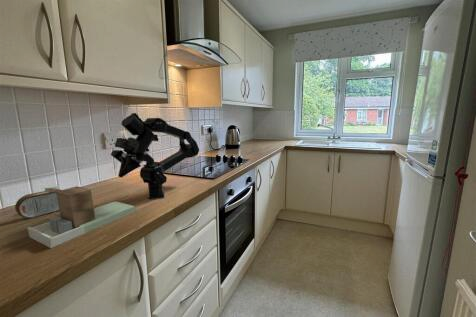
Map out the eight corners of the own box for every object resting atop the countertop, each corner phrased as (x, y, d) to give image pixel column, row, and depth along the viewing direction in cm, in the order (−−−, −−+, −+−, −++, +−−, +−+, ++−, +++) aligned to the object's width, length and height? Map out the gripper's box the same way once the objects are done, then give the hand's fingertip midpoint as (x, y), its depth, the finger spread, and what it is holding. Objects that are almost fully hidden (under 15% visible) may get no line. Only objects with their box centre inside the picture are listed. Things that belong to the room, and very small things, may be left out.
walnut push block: (81, 214, 79) (77, 186, 77) (95, 219, 75) (90, 189, 74) (61, 222, 74) (56, 191, 72) (74, 227, 70) (69, 195, 68)
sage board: (115, 206, 92) (114, 201, 91) (135, 211, 86) (134, 206, 86) (63, 225, 76) (62, 219, 76) (83, 233, 71) (82, 227, 70)
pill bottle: (47, 206, 93) (43, 186, 92) (61, 203, 96) (58, 183, 95) (47, 210, 90) (43, 189, 88) (62, 207, 93) (59, 186, 91)
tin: (68, 206, 93) (65, 186, 91) (71, 208, 91) (67, 187, 89) (17, 220, 82) (12, 197, 80) (19, 222, 80) (14, 198, 78)
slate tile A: (64, 218, 71) (56, 221, 69) (71, 221, 69) (63, 224, 67) (66, 231, 72) (59, 234, 70) (73, 234, 70) (66, 237, 68)
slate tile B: (56, 215, 73) (49, 218, 72) (63, 218, 71) (55, 221, 70) (59, 227, 74) (51, 230, 72) (65, 230, 72) (58, 233, 70)
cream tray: (62, 224, 77) (60, 216, 76) (84, 233, 70) (83, 224, 70) (29, 236, 69) (27, 227, 69) (50, 248, 63) (48, 237, 62)
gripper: (112, 129, 92) (86, 162, 85) (144, 129, 83) (119, 166, 76) (132, 146, 100) (110, 178, 93) (163, 148, 91) (142, 184, 84)
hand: (119, 176), depth 86 cm, fingers closed
